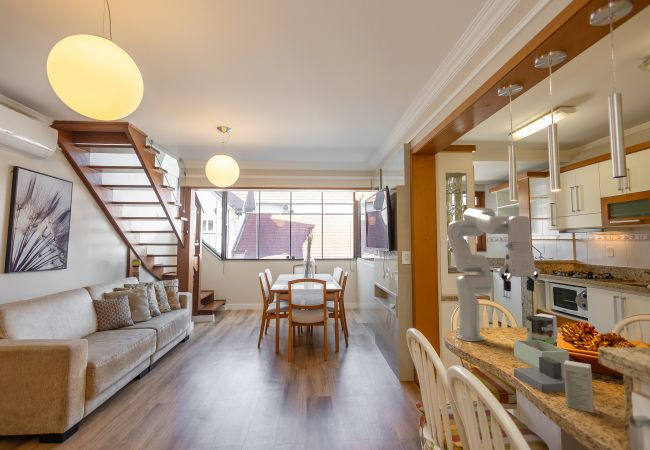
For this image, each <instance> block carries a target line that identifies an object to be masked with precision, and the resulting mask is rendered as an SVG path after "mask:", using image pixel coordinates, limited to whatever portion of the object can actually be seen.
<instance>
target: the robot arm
mask: <svg viewBox="0 0 650 450" xmlns="http://www.w3.org/2000/svg"><path fill="white" fill-rule="evenodd" d="M462 217H463V219H458V220H453V221H451V222H450V223H448V226H447V228H446V229H447V232H446V233H447V238H448V241H449V244H450V245H451V248H452V251H453V253H452V254H453V257H454V262H455V268H456V270H457V271H458V272H459V273H465V274H461V275H458V277H457V278H456V280H455V286H456V290H457V296H458V301H457V302H458V326H457V330H458V332H457V333H456V334H455V337H456V338H457V339H459V340H461V341H466V342H473V343H474V342H477V343H478V342H482V341H484V336H482V335H480V333H481V330H480V324H481V323H480V322H481V321H480V302H479V300H478V298H477V297H476V296H475V295H476V294H477V295H478V294H482V295H484V294H491V292H492V291H493V289H494V280H493V277H492V276H493V275H492V270H491V268H490V263H489V261H488V259H487V257H486V256H485V255H483V254H479V253H472V250H471V245H470V244H469V242H468V241H467V240H466V239H465V238H463V237H481V236H482V235H483V234H484V233H486V234H490V235H507V244H505V248H506V249H507V250H506V253H505V256H504V257H505V258H504V264H503V265H502V266H501V267H499V268H498V269H497V270H496V271H497V273H498V275H499V277H500V278H501V280H502V281H503V290H504V291H506V292H511V291H512V282H511V279H512V278H513V277H517V278H519V277H521V278H522V277H523V278H525V277H526V278H527V280H526V290H527V291H529V292H535V282H536V279H538V278H539V274H540V273H541V269H540V268H538V267H536V266H535V264H536V263H535V257H534V253H533V251H532V250H531V219H530V217H529V216H527V215H511V216H505V215H502V216H501V215H496V212H495V211H494V210H493V209H492V208H490V207H469V208H467V209H466V210H464V212H463V214H462ZM466 273H471V274H466ZM472 273H476V274H472Z"/></svg>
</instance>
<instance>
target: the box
mask: <svg viewBox="0 0 650 450" xmlns="http://www.w3.org/2000/svg"><path fill="white" fill-rule="evenodd" d="M513 352H514V353H513V354H514V355H513V356H514V358H515V359H517V360H518V361H521V362H522V363H524V364H526V365H529V366H531V368H539V357H549V358H551V359H553V360H555V361H558V362H560V363H561V369H563V370H564V365H563V363H564V361H565V360H568V361H570V351H569V350H567V349H564V348H561V347H558V346H556V345H554V346H553V345H551V344H548V343H545V342H543V341H540V340H527V339H521V340H520V339H519V340H518V339H517V340H513Z"/></svg>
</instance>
